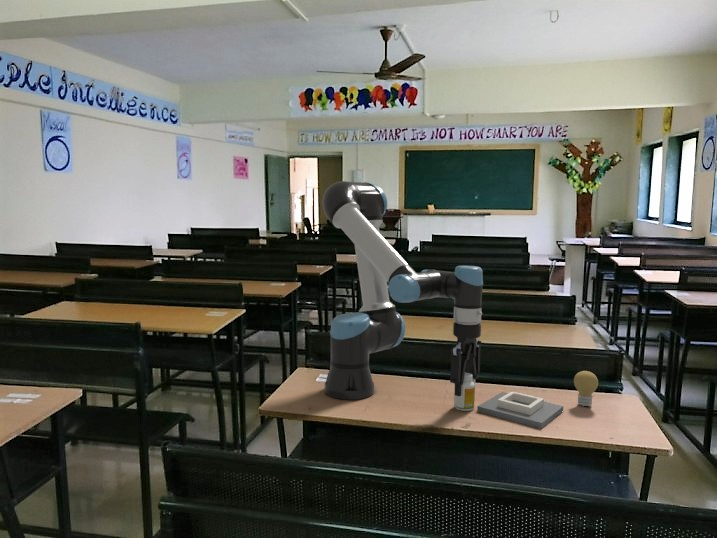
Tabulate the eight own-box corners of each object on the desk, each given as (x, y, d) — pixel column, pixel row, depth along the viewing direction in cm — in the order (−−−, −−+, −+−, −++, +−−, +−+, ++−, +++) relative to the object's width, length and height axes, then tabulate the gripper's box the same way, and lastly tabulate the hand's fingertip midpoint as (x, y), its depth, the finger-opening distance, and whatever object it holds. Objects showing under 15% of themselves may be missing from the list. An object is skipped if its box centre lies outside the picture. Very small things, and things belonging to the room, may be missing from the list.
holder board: (477, 411, 148) (477, 399, 148) (502, 396, 160) (502, 385, 160) (541, 428, 137) (542, 415, 136) (563, 411, 149) (563, 399, 149)
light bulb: (599, 410, 151) (602, 375, 150) (576, 408, 151) (578, 374, 150) (592, 402, 157) (594, 368, 156) (569, 401, 158) (571, 367, 157)
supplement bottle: (477, 411, 148) (478, 376, 147) (458, 411, 148) (459, 377, 147) (469, 404, 154) (471, 371, 153) (451, 405, 153) (452, 371, 152)
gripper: (463, 329, 139) (460, 416, 141) (494, 319, 153) (491, 398, 155) (438, 325, 143) (435, 409, 146) (470, 315, 158) (468, 392, 160)
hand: (464, 403), depth 151 cm, fingers closed on supplement bottle, 5 cm apart
